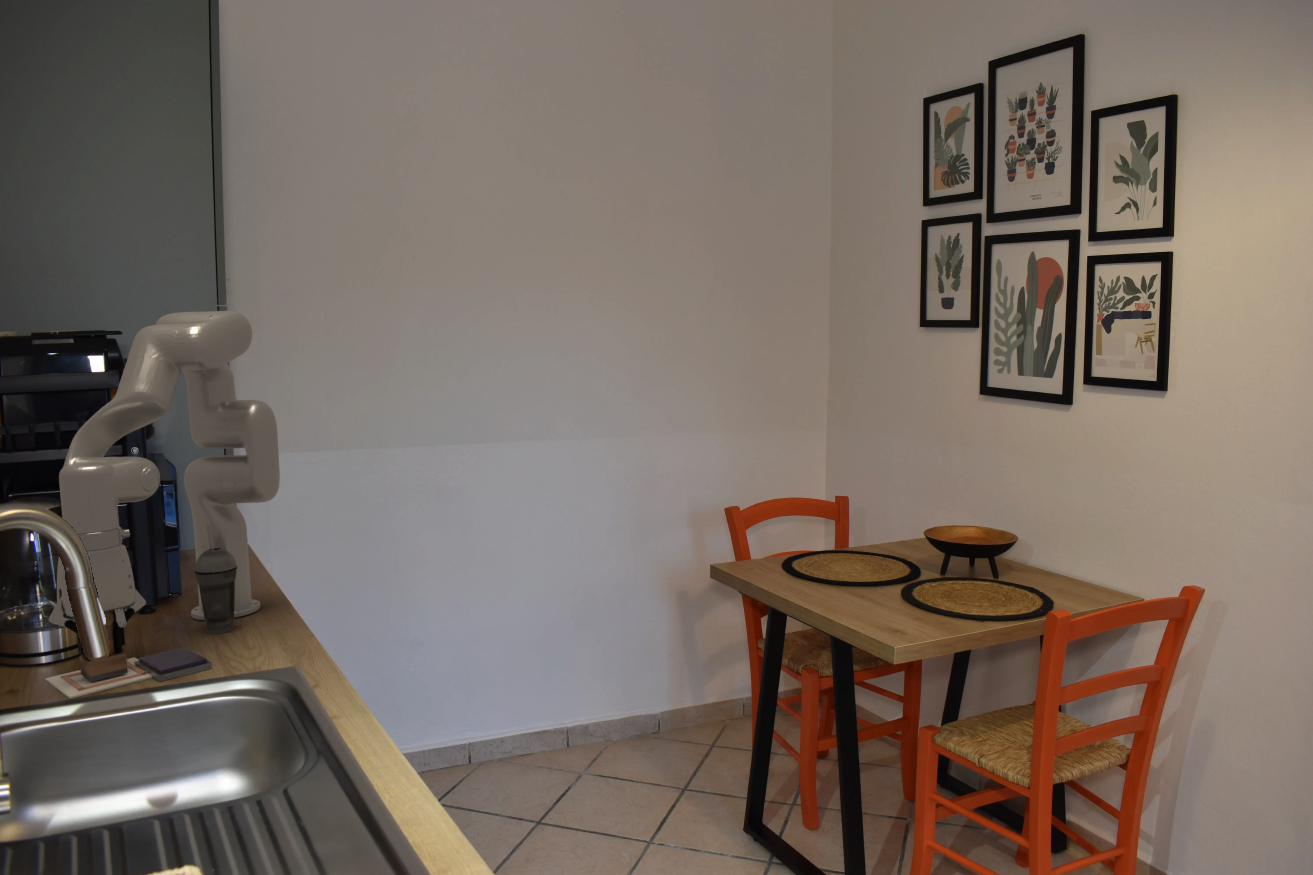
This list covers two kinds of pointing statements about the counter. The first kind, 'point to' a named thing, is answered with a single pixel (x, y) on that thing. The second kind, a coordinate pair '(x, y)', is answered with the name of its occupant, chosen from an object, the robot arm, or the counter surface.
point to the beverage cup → (217, 587)
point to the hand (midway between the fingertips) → (102, 653)
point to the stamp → (109, 665)
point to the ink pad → (173, 664)
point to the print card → (80, 686)
